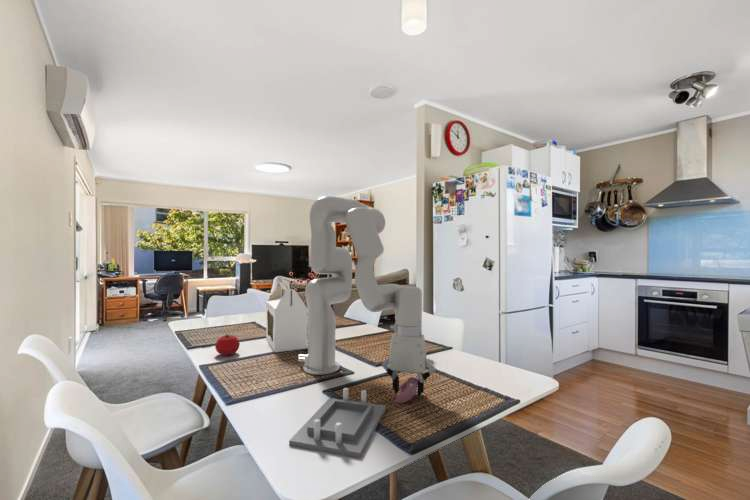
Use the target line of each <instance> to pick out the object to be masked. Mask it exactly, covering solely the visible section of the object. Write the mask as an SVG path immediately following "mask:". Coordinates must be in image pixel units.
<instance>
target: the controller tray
mask: <svg viewBox="0 0 750 500" xmlns="http://www.w3.org/2000/svg"><path fill="white" fill-rule="evenodd" d="M342 390H343V392H342V393H343V394H342V399H341V398H332V397H329V398H328V399H327V400H326V401H325V402H324V403H323V404H322V406H321V407H320V408H318V410H317V411H315V413H314V414H313V415H312V416H311V417H310V418H309V419H308V420H307V421H306V422H305V423H304V424H303V425H302V426H301V427H300V429H299V430H297V432H296V433H295V434H294V435H293V436H292V437H291V438H290V439H289V442H288V444H289V446H291V447H298V448H304V449H309V450H314V451H320V452H326V453H331V454H336V455H341V456H347V457H353V458H357V459H360V458H361V456H362V455H363V453H364V451H365V449H366V447H367V446H368V445H369V444H368V443H369V442H370V440H371V438H372V437H373V434H374V433H375V430H377V427H378V425H379V424H378V423H380V422H381V420H380V419H382V418H383V416H384V414H385V412H386V411H387V405H384V404H376V403H370V402H369V403H368V402H367V390H366V389H365V390H364V389H362V390H361V391H360V401H355V400H349V388H348V387H344V388H343V389H342ZM385 410H386V411H385ZM379 421H380V422H379Z"/></svg>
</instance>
